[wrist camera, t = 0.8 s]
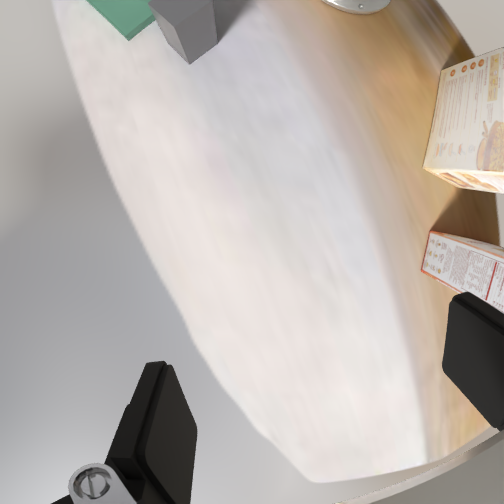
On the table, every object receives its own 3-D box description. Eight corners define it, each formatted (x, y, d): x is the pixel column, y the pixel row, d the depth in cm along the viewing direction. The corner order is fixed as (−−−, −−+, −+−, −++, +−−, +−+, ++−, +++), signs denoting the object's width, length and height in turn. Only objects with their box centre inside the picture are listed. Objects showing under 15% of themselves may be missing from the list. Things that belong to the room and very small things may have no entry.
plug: (192, 20, 28) (180, -25, 19) (217, 43, 29) (212, 0, 20) (165, 40, 29) (143, 0, 19) (189, 64, 30) (174, 27, 20)
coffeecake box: (458, 189, 35) (574, 210, 16) (420, 168, 34) (543, 177, 15) (476, 93, 31) (579, 74, 13) (439, 68, 31) (544, 30, 12)
